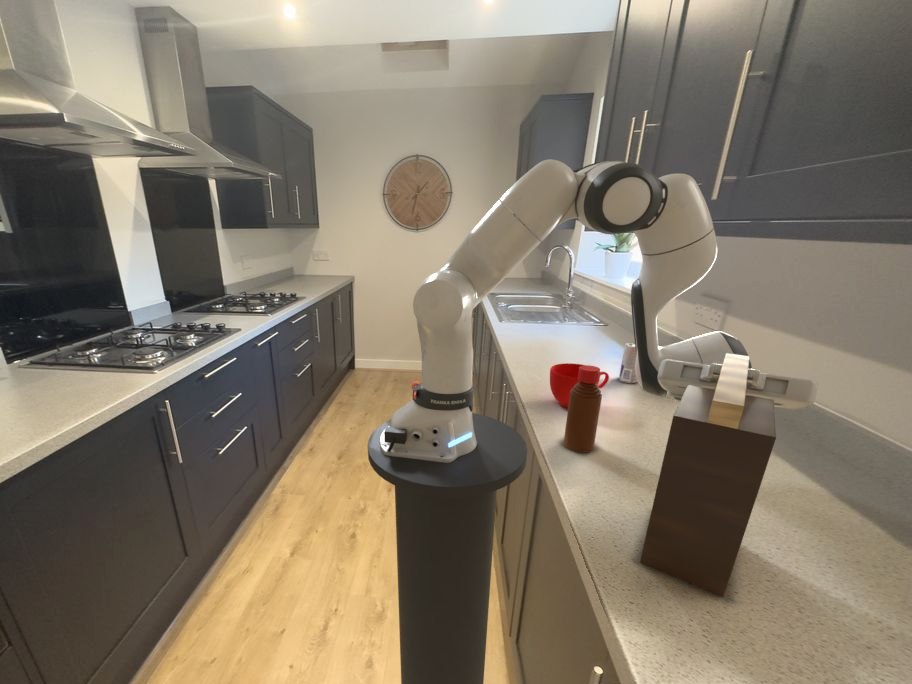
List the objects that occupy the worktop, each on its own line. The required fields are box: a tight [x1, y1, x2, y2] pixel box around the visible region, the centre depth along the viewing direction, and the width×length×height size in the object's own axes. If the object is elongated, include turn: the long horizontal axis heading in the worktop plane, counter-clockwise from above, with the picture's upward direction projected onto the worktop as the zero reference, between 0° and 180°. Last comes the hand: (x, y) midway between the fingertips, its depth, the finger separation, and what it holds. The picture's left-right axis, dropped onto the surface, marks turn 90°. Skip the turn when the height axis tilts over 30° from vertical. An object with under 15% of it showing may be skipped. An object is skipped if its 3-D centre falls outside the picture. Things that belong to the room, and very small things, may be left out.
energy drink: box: [618, 342, 638, 384], centre depth 131 cm, size 5×5×12 cm
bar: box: [707, 353, 750, 429], centre depth 58 cm, size 25×3×3 cm, turn 140°
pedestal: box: [639, 385, 777, 597], centre depth 59 cm, size 14×10×24 cm
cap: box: [578, 364, 601, 384], centre depth 88 cm, size 4×4×3 cm
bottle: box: [563, 381, 603, 453], centre depth 91 cm, size 6×6×18 cm
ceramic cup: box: [549, 362, 610, 408], centre depth 115 cm, size 13×17×10 cm
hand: (733, 371), depth 62 cm, fingers closed on bar, 3 cm apart
